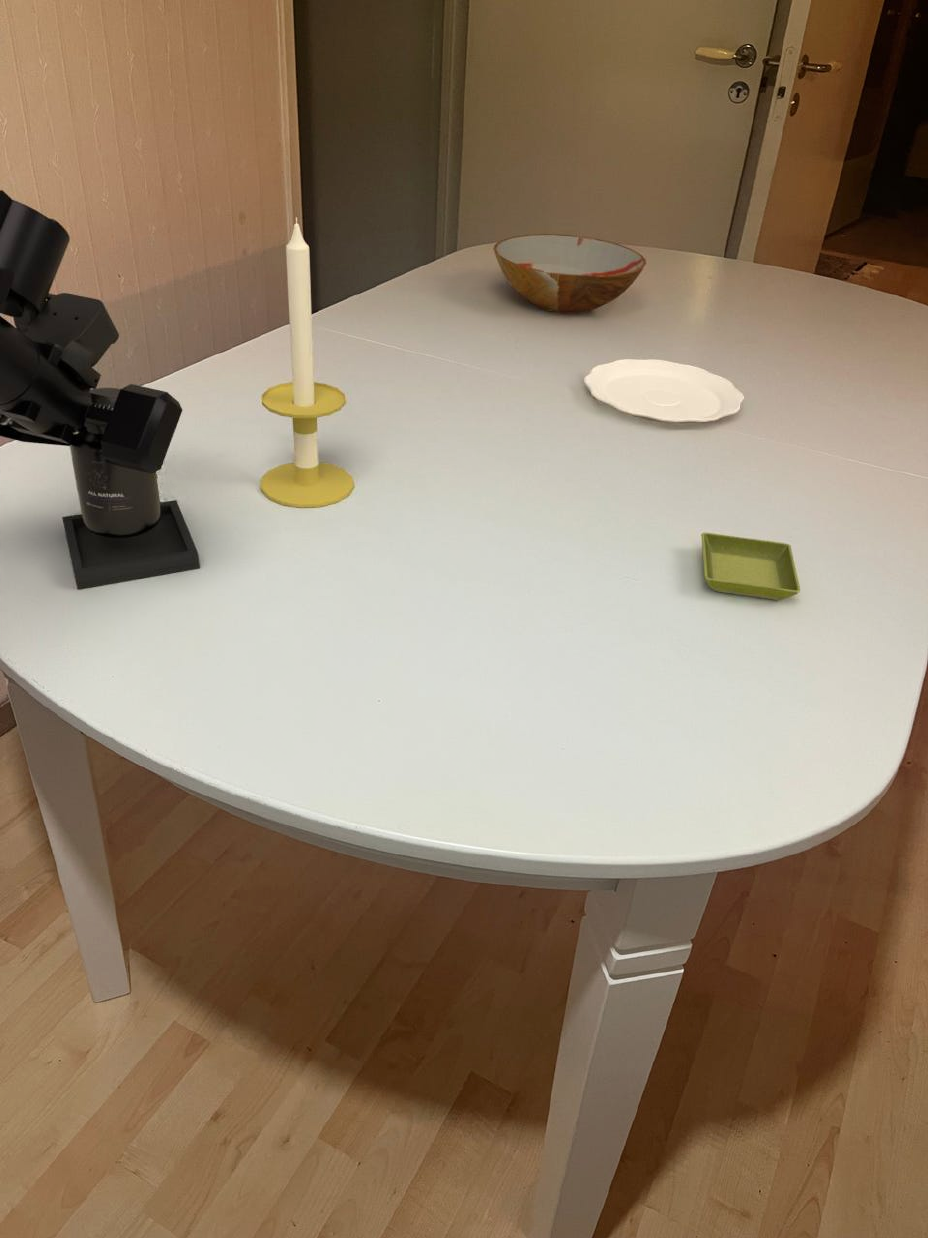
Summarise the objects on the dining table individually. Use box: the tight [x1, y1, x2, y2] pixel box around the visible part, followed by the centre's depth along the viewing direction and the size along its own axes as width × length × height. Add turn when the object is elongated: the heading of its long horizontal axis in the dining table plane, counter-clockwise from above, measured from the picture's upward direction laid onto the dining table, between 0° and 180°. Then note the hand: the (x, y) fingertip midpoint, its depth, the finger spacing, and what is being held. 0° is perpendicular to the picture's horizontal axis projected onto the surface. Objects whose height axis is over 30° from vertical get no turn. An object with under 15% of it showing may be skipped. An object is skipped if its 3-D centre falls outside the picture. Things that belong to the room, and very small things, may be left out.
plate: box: [583, 358, 745, 424], centre depth 124 cm, size 21×21×2 cm
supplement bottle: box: [69, 387, 161, 538], centre depth 81 cm, size 7×7×12 cm
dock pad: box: [61, 499, 201, 590], centre depth 86 cm, size 11×11×2 cm
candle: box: [259, 216, 355, 509], centre depth 91 cm, size 10×10×27 cm
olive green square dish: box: [700, 532, 801, 601], centre depth 88 cm, size 9×9×2 cm
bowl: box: [493, 233, 647, 314], centre depth 154 cm, size 25×25×8 cm
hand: (123, 450), depth 82 cm, fingers closed on supplement bottle, 7 cm apart
